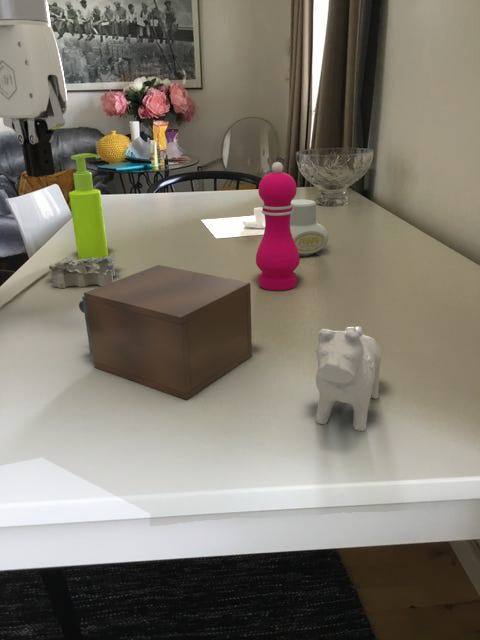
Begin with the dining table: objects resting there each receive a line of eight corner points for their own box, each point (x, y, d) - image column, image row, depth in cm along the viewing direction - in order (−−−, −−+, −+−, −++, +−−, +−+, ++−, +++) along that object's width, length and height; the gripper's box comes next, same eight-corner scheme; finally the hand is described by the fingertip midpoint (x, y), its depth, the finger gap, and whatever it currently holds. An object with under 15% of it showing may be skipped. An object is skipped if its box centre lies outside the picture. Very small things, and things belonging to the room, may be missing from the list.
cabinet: (94, 367, 68) (83, 292, 65) (164, 331, 78) (158, 264, 74) (186, 400, 61) (180, 317, 57) (252, 356, 70) (250, 282, 66)
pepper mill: (293, 276, 99) (294, 158, 91) (304, 290, 92) (306, 163, 85) (252, 279, 98) (250, 160, 90) (261, 293, 91) (259, 166, 83)
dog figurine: (301, 444, 53) (303, 340, 49) (334, 380, 64) (337, 291, 60) (358, 455, 51) (365, 348, 47) (382, 388, 62) (388, 297, 58)
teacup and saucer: (245, 231, 130) (245, 213, 129) (237, 223, 138) (237, 207, 136) (281, 228, 132) (281, 210, 131) (272, 221, 139) (272, 204, 138)
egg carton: (49, 289, 96) (45, 266, 94) (59, 276, 103) (55, 254, 101) (112, 286, 96) (109, 263, 95) (118, 273, 103) (115, 251, 102)
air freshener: (316, 244, 118) (317, 196, 114) (334, 254, 111) (336, 203, 107) (267, 250, 115) (266, 200, 111) (282, 260, 108) (282, 208, 104)
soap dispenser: (118, 255, 114) (106, 153, 107) (88, 263, 110) (74, 157, 102) (102, 250, 118) (89, 151, 110) (72, 258, 113) (57, 155, 106)
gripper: (-50, 18, 67) (-19, 175, 74) (28, 5, 59) (54, 183, 66) (6, 22, 73) (30, 168, 80) (84, 11, 65) (103, 175, 72)
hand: (41, 175), depth 73 cm, fingers closed
